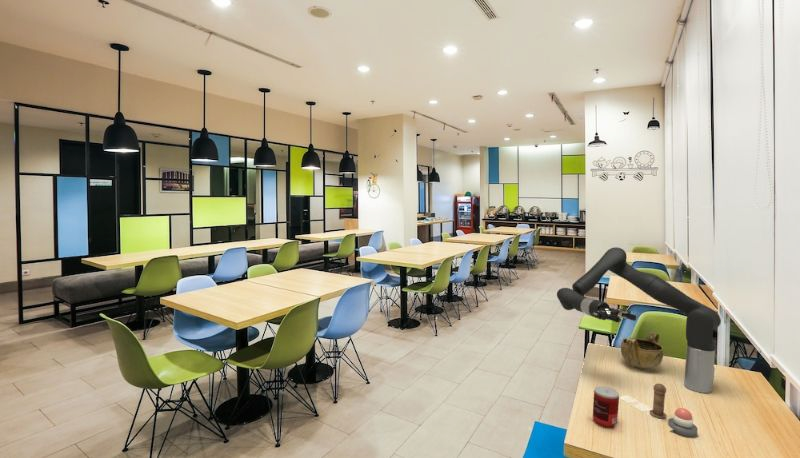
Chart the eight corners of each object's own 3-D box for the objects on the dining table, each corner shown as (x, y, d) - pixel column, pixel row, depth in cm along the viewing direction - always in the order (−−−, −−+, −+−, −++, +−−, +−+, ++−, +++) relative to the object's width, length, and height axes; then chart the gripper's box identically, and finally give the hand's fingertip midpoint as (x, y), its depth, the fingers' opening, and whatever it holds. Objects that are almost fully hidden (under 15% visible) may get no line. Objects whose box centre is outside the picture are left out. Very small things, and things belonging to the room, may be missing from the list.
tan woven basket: (646, 379, 173) (649, 345, 172) (608, 364, 187) (610, 333, 186) (672, 368, 184) (674, 336, 183) (634, 355, 199) (636, 326, 198)
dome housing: (678, 422, 139) (679, 416, 139) (702, 435, 132) (703, 429, 132) (662, 425, 137) (662, 420, 137) (685, 439, 129) (686, 433, 129)
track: (628, 396, 157) (628, 393, 157) (674, 421, 140) (674, 418, 140) (613, 399, 154) (613, 396, 154) (657, 425, 137) (658, 422, 137)
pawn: (656, 410, 145) (658, 380, 144) (669, 418, 140) (672, 386, 139) (646, 413, 143) (648, 381, 142) (659, 420, 138) (661, 388, 137)
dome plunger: (680, 417, 137) (681, 403, 137) (696, 426, 133) (697, 411, 132) (669, 420, 136) (670, 406, 135) (685, 428, 131) (686, 414, 130)
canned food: (615, 418, 141) (617, 387, 140) (619, 430, 134) (621, 398, 133) (591, 413, 144) (592, 384, 143) (593, 425, 136) (595, 394, 135)
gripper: (606, 315, 175) (640, 326, 160) (581, 318, 171) (612, 330, 155) (608, 298, 175) (641, 308, 160) (582, 300, 170) (614, 311, 155)
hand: (627, 319), depth 158 cm, fingers open, 8 cm apart
